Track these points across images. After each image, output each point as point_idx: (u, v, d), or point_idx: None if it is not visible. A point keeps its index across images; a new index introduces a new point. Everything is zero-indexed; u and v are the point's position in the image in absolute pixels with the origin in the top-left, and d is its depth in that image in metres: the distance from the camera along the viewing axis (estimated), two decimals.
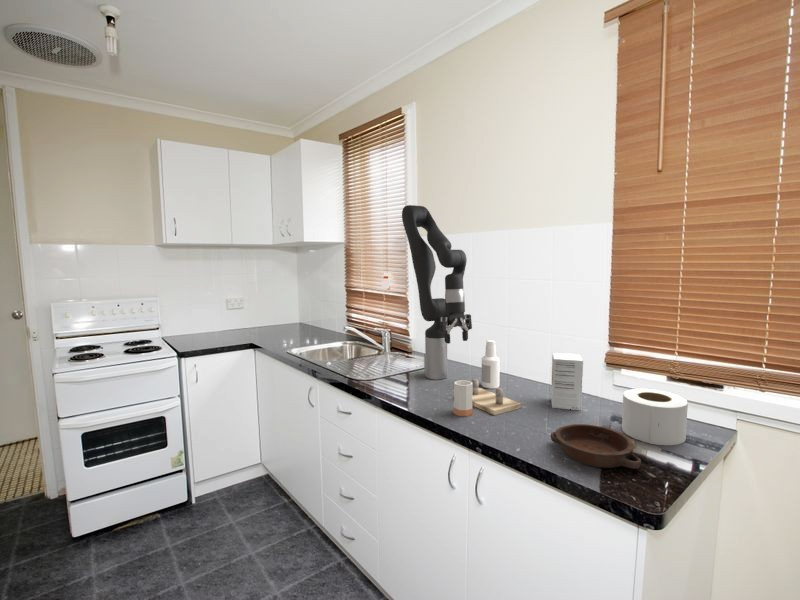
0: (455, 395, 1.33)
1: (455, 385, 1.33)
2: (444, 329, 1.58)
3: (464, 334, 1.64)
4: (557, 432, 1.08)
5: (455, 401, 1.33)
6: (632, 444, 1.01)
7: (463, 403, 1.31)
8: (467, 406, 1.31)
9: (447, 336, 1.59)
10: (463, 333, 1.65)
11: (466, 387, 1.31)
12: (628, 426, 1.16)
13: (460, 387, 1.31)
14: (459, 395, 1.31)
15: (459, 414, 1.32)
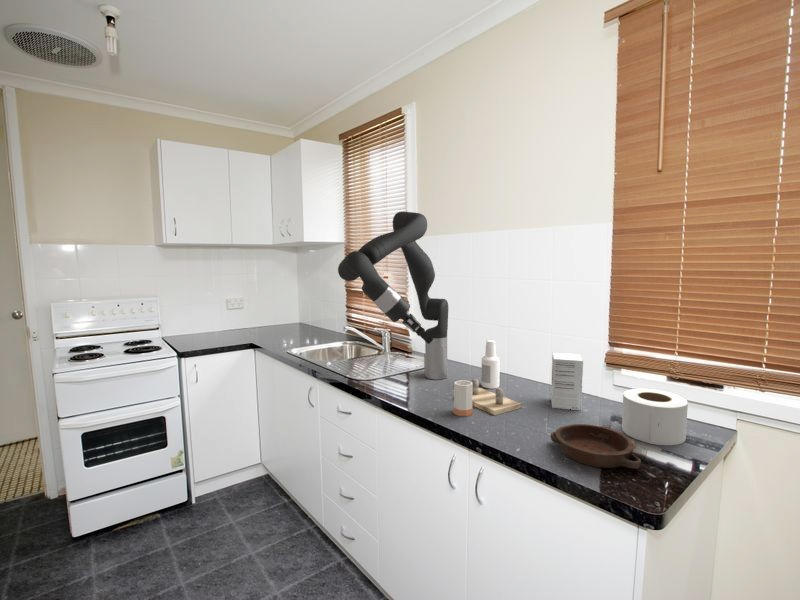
0: (455, 395, 1.33)
1: (455, 385, 1.33)
2: None
3: None
4: (557, 432, 1.08)
5: (455, 401, 1.33)
6: (632, 444, 1.01)
7: (463, 403, 1.31)
8: (467, 406, 1.31)
9: None
10: None
11: (466, 387, 1.31)
12: (628, 426, 1.16)
13: (460, 387, 1.31)
14: (459, 395, 1.31)
15: (459, 414, 1.32)
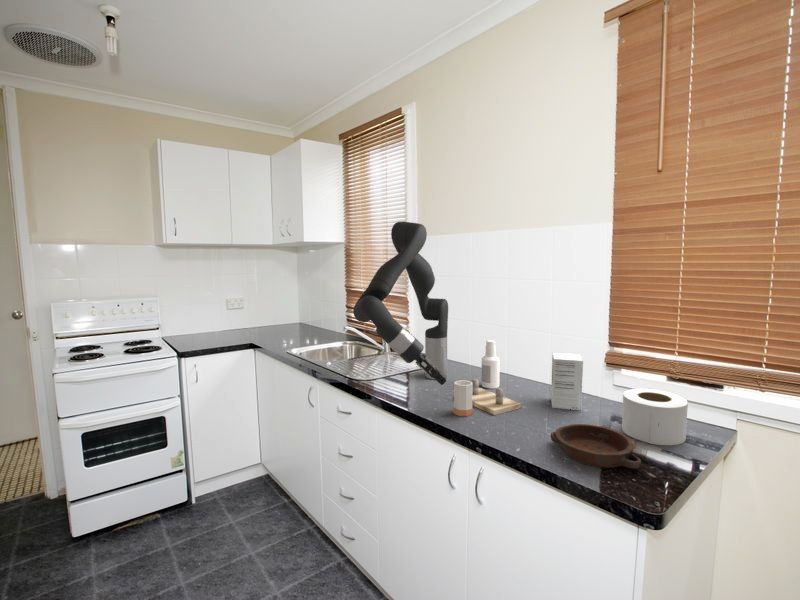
0: (455, 395, 1.33)
1: (455, 385, 1.33)
2: None
3: None
4: (557, 432, 1.08)
5: (455, 401, 1.33)
6: (632, 444, 1.01)
7: (463, 403, 1.31)
8: (467, 406, 1.31)
9: None
10: None
11: (466, 387, 1.31)
12: (628, 426, 1.16)
13: (460, 387, 1.31)
14: (459, 395, 1.31)
15: (459, 414, 1.32)
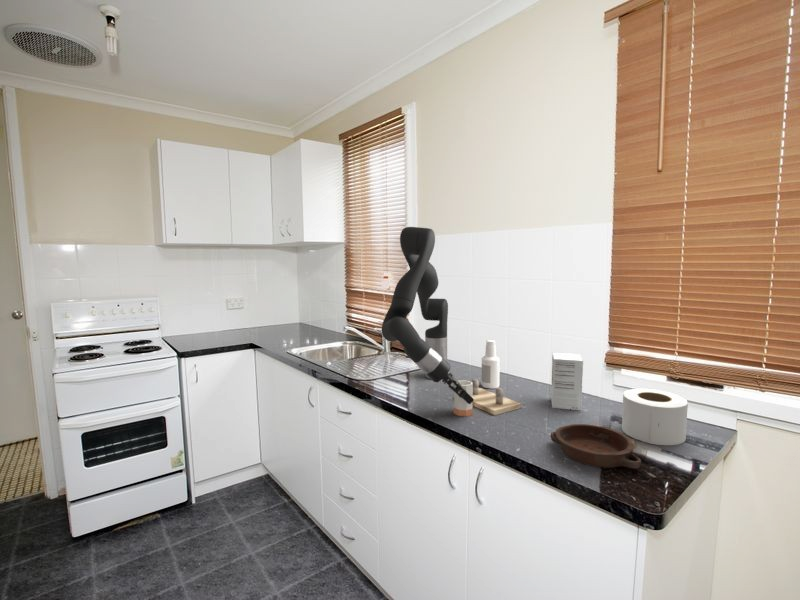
0: (455, 395, 1.33)
1: None
2: None
3: None
4: (557, 432, 1.08)
5: (455, 401, 1.33)
6: (632, 444, 1.01)
7: (463, 403, 1.31)
8: (467, 406, 1.31)
9: None
10: None
11: (466, 387, 1.31)
12: (628, 426, 1.16)
13: None
14: None
15: (459, 414, 1.32)
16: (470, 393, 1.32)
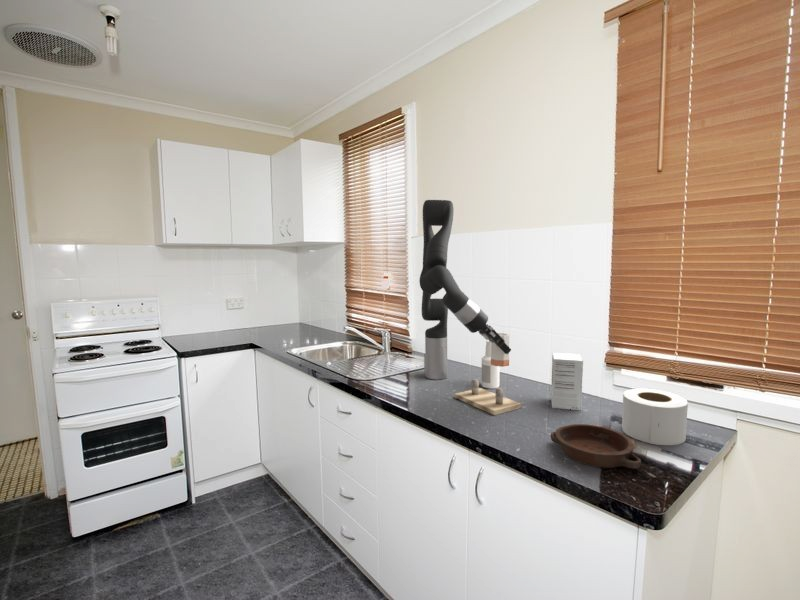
0: (492, 346, 1.35)
1: None
2: None
3: None
4: (557, 432, 1.08)
5: (492, 352, 1.36)
6: (632, 444, 1.01)
7: (501, 353, 1.34)
8: (504, 356, 1.34)
9: None
10: None
11: (504, 337, 1.33)
12: (628, 426, 1.16)
13: None
14: None
15: (496, 364, 1.34)
16: (507, 344, 1.34)
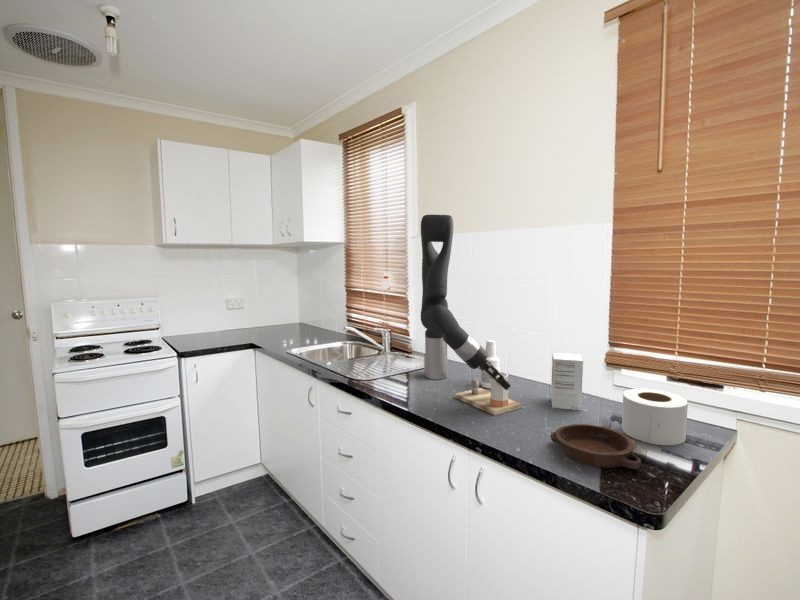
0: (492, 386, 1.37)
1: None
2: None
3: None
4: (557, 432, 1.08)
5: (492, 392, 1.37)
6: (632, 444, 1.01)
7: (500, 393, 1.35)
8: (504, 396, 1.35)
9: None
10: None
11: None
12: (628, 426, 1.16)
13: (497, 378, 1.35)
14: (496, 386, 1.35)
15: (496, 404, 1.36)
16: None
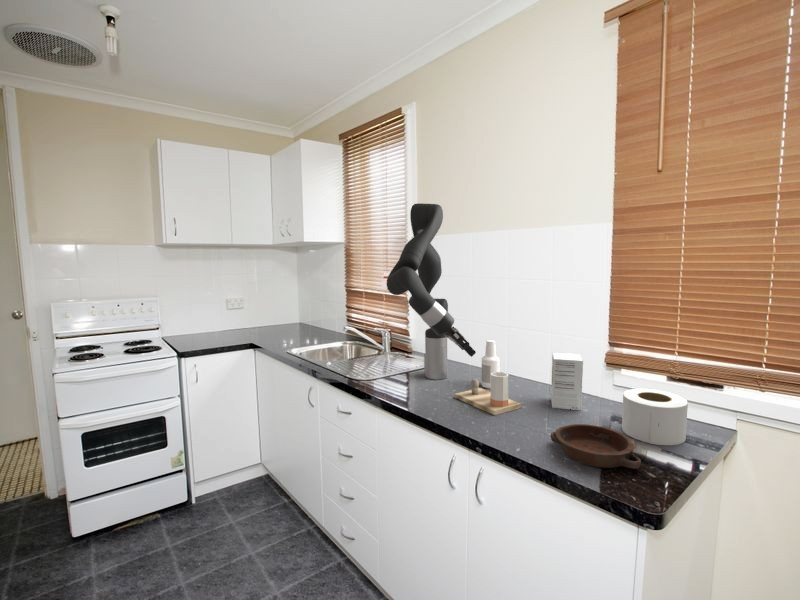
0: (492, 386, 1.37)
1: (492, 376, 1.37)
2: None
3: None
4: (557, 432, 1.08)
5: (492, 392, 1.37)
6: (632, 444, 1.01)
7: (500, 393, 1.35)
8: (504, 396, 1.35)
9: None
10: None
11: (503, 378, 1.35)
12: (628, 426, 1.16)
13: (497, 378, 1.35)
14: (496, 386, 1.35)
15: (496, 404, 1.36)
16: (506, 384, 1.36)
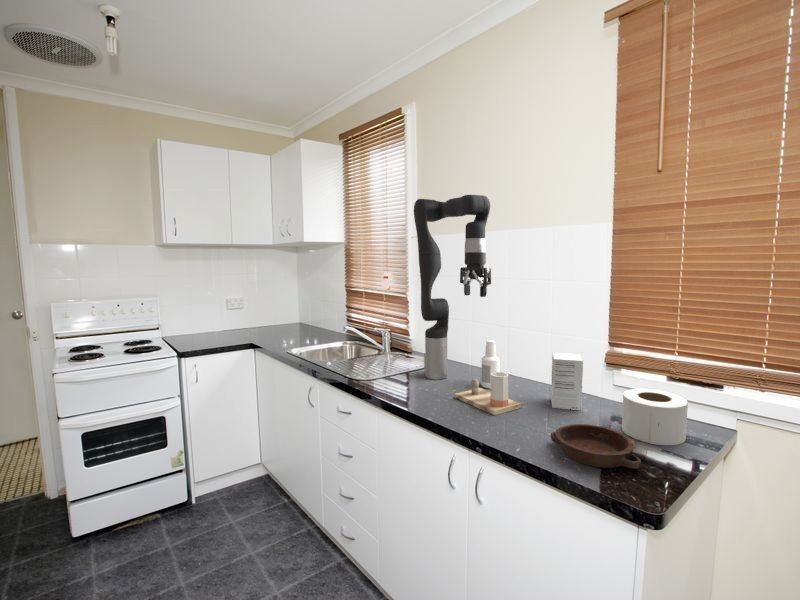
0: (492, 386, 1.37)
1: (492, 376, 1.37)
2: (460, 279, 1.56)
3: None
4: (557, 432, 1.08)
5: (492, 392, 1.37)
6: (632, 444, 1.01)
7: (500, 393, 1.35)
8: (504, 396, 1.35)
9: None
10: None
11: (503, 378, 1.35)
12: (628, 426, 1.16)
13: (497, 378, 1.35)
14: (496, 386, 1.35)
15: (496, 404, 1.36)
16: (506, 384, 1.36)
